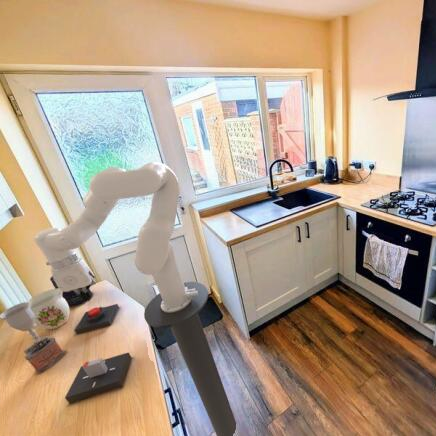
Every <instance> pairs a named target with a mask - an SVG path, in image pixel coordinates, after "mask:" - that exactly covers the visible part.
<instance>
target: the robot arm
mask: <svg viewBox="0 0 436 436" xmlns="http://www.w3.org/2000/svg"><path fill="white" fill-rule="evenodd" d="M150 195H152V198H151V204H150V206H151V207H150V212H149V215H148V218H147V220H146V221H145V223H144V224H143V225H142V227H141V228H140V230H139V232H138V235H137V241H136V242H137V243H136V248H135V254H134V255H135V256H134V266H135V268H136V269H137V271H138V272H140V273H141V274H143V275H147V276H150V275H151V276H152V278H153V280H154V283H155V285H156V287H157V290H158V292H159V293H160V295H161V297H162V300H163V301H162V303H161V308H162V310H163V311H164V312H167V313H172V312H176V311H179V310H181V309H183V308H185V307H186V306H187V305H188V304H189V303H190V302H191V300H192V296H196V295H198V291H195V288H194V289H191V290H188V288H187V287H185V286H184V283H185V282H184V281H183V278H182V274H181V271H180V269H179V266H178V263H177V261H176V260H177V259H176V256H175V252H174V247H173V244H172V242H171V237H172V235H173V234H174V230H175V226H176V217H177V212H178V207H179V199H180V183H179V180H178V177H177V175H176V174H175V173H174V171H173V170H172V169H171V168H169V166H167V165H165V164H164V163H161V162H157V161H151V162H148V163H146V164H144V165H142V166H140V167H138V168H137V169H129V170H126V169H124V168H122V167H119V166H111V167H108V168H105V169H103V170H101V171H99V172H97V173H96V174H94V175H92V177H91V179H90V181H89V190H88V192H87V193H86V195H84V197H83V199H82V204H83V206H84V207H85V208H83V210H82V211H81V213H80V214H79V216H78V217H77V218H76V219H75V220H74V221H72V222H71V223H69V224H68V225H67V226H65V227H64V228H62V229H61V228H60V227H50V228H46V229H43V230H41V231H38V232H37V233H36V234H34V235H33V241H34V243H35V244H36V246H37V247H38V248H39V250H40V251H41V253H42V254H43V256H44V257H45V259H46V260H47V261H46V262H45V265H46V266H50V267H51V268H50V272H51V275H52V276H53V278H54V280H55V282H56V284H57V286H58V288H59V289H60V290H61V291H63V292H70V291H72V292H75V293H76V294H79V295H80V296H81V298H82V299H83V300H84V302H85V303H86V302H90V301H91V299H92V298H93V297H94V294H93V292H92V291H91V289H90V288H91V287H93V286H95V285H96V284H97V282H98V281H97V279H95V278H96V277H95V273H94V272H93V271H92V269H91V268H90V267H89V265H88V264H87V263H86V261H84V260H83V258H80V257H79V256H78V255H77V253H76V251H75V250H76V249H79V248H80V247H82V246H83V245H84V244H85V243H86V242H87V241H88V240H89V239H91V237H93V236H94V235H95V234H96V233H97V231H98V230H99V229H100V228H101V227H102V225H103V224H104V223H105V221H106V220H107V219H108V217H109V215H110V214H111V212H112V211H113V209H115V207H116V205H117V204H118V202H119V201H120V200H122V199H130V198H138V197H146V196H150ZM52 276H51V277H52Z"/></svg>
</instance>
